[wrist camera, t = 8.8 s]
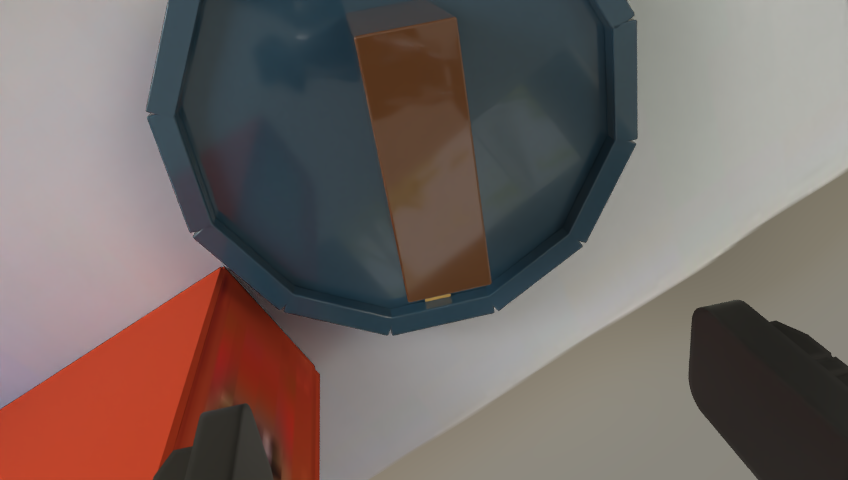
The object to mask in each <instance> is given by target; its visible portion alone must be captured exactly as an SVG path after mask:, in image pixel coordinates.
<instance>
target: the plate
mask: <svg viewBox="0 0 848 480" xmlns="http://www.w3.org/2000/svg"><path fill="white" fill-rule="evenodd" d="M633 16H634V12H633V10H632V9H631V7H630V5H629V4H628V2H627V0H168V3H167V8H166V13H165V18H164V23H163V28H162V33H161V38H160V43H159V48H158V53H157V57H156V62H155V67H154V72H153V77H152V82H151V87H150V92H149V97H148V102H147V107H146V111H147V112H149V113H150V114H149V115H148V116H147V119H148V122H149V125H150V127H151V130H152V133H153V136H154V138H155V141H156V144H157V146H158V149H159V152H160V154H161V157H162V160H163V162H164V165H165V168H166V170H167V173H168V176H169V179H170V181H171V184H172V187H173V189H174V192H175V195H176V197H177V200H178V203H179V205H180V208H181V211H182V214H183V216H184V219H185V222H186V224H187V227H188V230H189V232H190V233H192V232H195V233H194V235H193V238H194V239H195V240H196V241H198V242H199V243H200V244H201V245H202V246H204V247H205V248H206V249H207V250H208V251H209V252H211V253H212V254H213V255H214V256H215V257H217V258H218V259H219V260H220V261H221V262H223V263H224V264H225V265H226V266H227V267H229V268H230V269H231V270H232V271H233V272H234V273H236V274H237V275H238V276H239V277H240V278H242V279H243V280H244V281H245V282H246V283H248V284H249V285H250V286H251V287H252V288H254V289H255V290H256V291H257V292H258V293H259V294H261V295H262V296H263V297H264V298H265V299H267V300H268V301H269V302H270V303H271V304H273V305H274V306H275V307H276V308H277V309H279V310H281V309H282V308H283V307H284V312H285V313H290V314H294V315H299V316H303V317H308V318H312V319H316V320H321V321H325V322H330V323H334V324H338V325H343V326H347V327H352V328H356V329H360V330H365V331H369V332H374V333H378V334H382V335H388V334H389V332H390V329H391V334H392V335H393V336H394V335H398V334H403V333H407V332H412V331H416V330H421V329H425V328H429V327H434V326H438V325H443V324H447V323H452V322H456V321H460V320H465V319H469V318H474V317H478V316H483V315H487V314H492V313H494V307H495V308H496V309H497V310H498V311H499V310H501V309H502V308H503V307H505V306H506V305H507V304H508V303H510V302H511V301H512V300H514V299H515V298H516V297H518V296H519V295H520V294H521V293H523V292H524V291H525V290H527V289H528V288H529V287H531V286H532V285H533V284H534V283H536V282H537V281H538V280H540V279H541V278H542V277H544V276H545V275H546V274H548V273H549V272H550V271H551V270H553V269H554V268H555V267H557V266H558V265H559V264H561V263H562V262H563V261H564V260H566V259H567V258H568V257H570V256H571V255H572V254H574V253H575V252H576V251H578V250H579V249H580V248H581V247H582V244H581V243H580V242H579V241H581V242H584V243H586V242H587V240H588V238H589V236H590V234H591V232H592V230H593V228H594V226H595V224H596V222H597V220H598V218H599V216H600V214H601V212H602V210H603V208H604V206H605V204H606V203H607V201H608V199H609V197H610V195H611V193H612V191H613V189H614V187H615V185H616V183H617V181H618V179H619V177H620V175H621V173H622V171H623V169H624V167H625V165H626V163H627V161H628V160H629V158H630V156H631V154H632V152H633V150H634V148H635V146H636V143H635V142H633V141H632V140H636V139H637V138H638V131H637V21H636V20H634V19H631V18H632V17H633Z"/></svg>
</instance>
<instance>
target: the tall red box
mask: <svg viewBox="0 0 848 480" xmlns="http://www.w3.org/2000/svg"><path fill="white" fill-rule="evenodd" d="M244 403H247V404H248V405H249V406H250V408H251V410H252V413H253V416H254V419H255V422H256V425H257V428H258V431H259V434H260V437H261V440H262V443H263V446H264V449H265V452H266V455H267V458H268V461H269V464H270V467H271V471H272V475H273V480H319V471H320V374H319V373H318V372H317V371H316V370H315V366H314V365H313V364H312V363H311V362H310V360H309V359H308V358H307V357H306V356H305V355H304V354H303V353H302V352H301V351H300V349H299V348H298V347H297V346H296V345H295V344H294V343H293V342H292V341H291V340H290V338H289V337H288V336H287V335H286V334H285V333H284V332H283V331H282V330H281V329H280V328H279V326H278V325H277V324H276V323H275V322H274V321H273V320H272V319H271V318H270V317H269V315H268V314H267V313H266V312H265V311H264V310H263V309H262V308H261V307H260V306H259V304H258V303H257V302H256V301H255V300H254V299H253V298H252V297H251V296H250V295H249V293H248V292H247V291H246V290H245V289H244V288H243V287H242V286H241V285H240V284H239V282H238V281H237V280H236V279H235V278H234V277H233V276H232V275H231V274H230V273H229V272H228V270H227V269H226V268H225V267H223V268H221V267H220V268H218V269H217V270H215V271H214V272H212V273H211V274H209V275H208V276H206V277H205V278H203V279H201V280H200V281H198V282H197V283H195V284H194V285H192V286H191V287H189V288H188V289H186V290H184V291H183V292H181V293H180V294H178V295H177V296H175V297H174V298H172V299H171V300H169V301H167V302H166V303H164V304H163V305H161V306H160V307H158V308H157V309H155V310H154V311H152V312H150V313H149V314H147V315H146V316H144V317H143V318H141V319H140V320H138V321H136V322H135V323H133V324H132V325H130V326H129V327H127V328H126V329H124V330H123V331H121V332H119V333H118V334H116V335H115V336H113V337H112V338H110V339H109V340H107V341H106V342H104V343H102V344H101V345H99V346H98V347H96V348H95V349H93V350H92V351H90V352H89V353H87V354H85V355H84V356H82V357H81V358H79V359H78V360H76V361H75V362H73V363H72V364H70V365H68V366H67V367H65V368H64V369H62V370H61V371H59V372H58V373H56V374H55V375H53V376H51V377H50V378H48V379H47V380H45V381H44V382H42V383H41V384H39V385H38V386H36V387H34V388H33V389H31V390H30V391H28V392H27V393H25V394H24V395H22V396H21V397H19V398H17V399H16V400H14V401H13V402H11V403H10V404H8V405H7V406H5V407H3V408H2V409H0V480H153V477H154V475H155V474H156V473H157V471H158V470H159V469H160V467H161V466H162V465H163V463H164V462H165V461H166V459H167V458H168V457H169V455H170V454H171V453H172V451H173V450H176V449H181V448H186V447H190V446H193V442H194V438H195V433H196V429H197V425H198V421H199V417H200V415H201V414H202V413H203V412H206V411H211V410H216V409H221V408H225V407H230V406H235V405H239V404H244Z"/></svg>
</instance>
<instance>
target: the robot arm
mask: <svg viewBox="0 0 848 480" xmlns="http://www.w3.org/2000/svg"><path fill="white" fill-rule="evenodd" d="M691 327H692V328H691V343H690V359H689V385H690V389H691V392H692V396H693V398H694V400H695V402H696V404H697V406H698V407H699V409H700V411H701V412H702V413H703V414H704V416H705V417H706V418H707V419H708V420H709V421H710V423H711V424H712V425H713V426H714V427H715V429H716V430H717V431H718V432H719V433H720V434H721V436H722V437H723V438H724V439H725V441H726V442H727V443H728V444H729V445H730V446H731V448H732V449H733V450H734V451H735V453H736V454H737V455H738V456H739V457H740V459H741V460H742V461H743V462H744V463H745V464H746V466H747V467H748V468H749V469H750V470H751V472H752V473H753V474H754V475H755V476H756V478H757V479H758V480H848V366H847V365H846V364H844V363H843V362H842V361H841V360H839V359H838V358H837V357H832V356H831V353H830V352H829V351H828V350H826V349H825V348H824V347H823V346H822V345H820V344H819V343H818V342H816V341H815V340H814V339H812V338H811V337H810V336H809V335H807V334H805V333H803V332H801V331H798V330H796V329H794V328H791V327H789V326H787V325H785V324H782V323H780V322H778V321H772V322H768V321H767V320H766V319H765V318H764V317H763V316H761V315H760V314H759V313H758V312H756V311H755V310H754V309H753V308H752V307H750V306H749V305H748V304H746V303H745V302H744V301H741V300H733V301H729V302H724V303H720V304H715V305H711V306H705V307H700V308H697V309H696V310H695V311H694V313H693V316H692V326H691ZM153 480H273V475H272V471H271V467H270V464H269V461H268V458H267V455H266V452H265V449H264V446H263V443H262V440H261V437H260V434H259V431H258V428H257V425H256V422H255V419H254V416H253V413H252V410H251V408H250V406H249V405H248V404H247V403H244V404H239V405H235V406H230V407H225V408H221V409H216V410H211V411H206V412H203V413H202V414H201V415H200V417H199V421H198V425H197V429H196V433H195V438H194V442H193V446H190V447H186V448H181V449H176V450H173V451H172V453H171V454H170V455H169V457H168V458H167V459H166V461H165V462H164V463H163V465H162V466H161V467H160V469H159V470H158V471H157V473H156V474H155V475H154V477H153Z"/></svg>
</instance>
